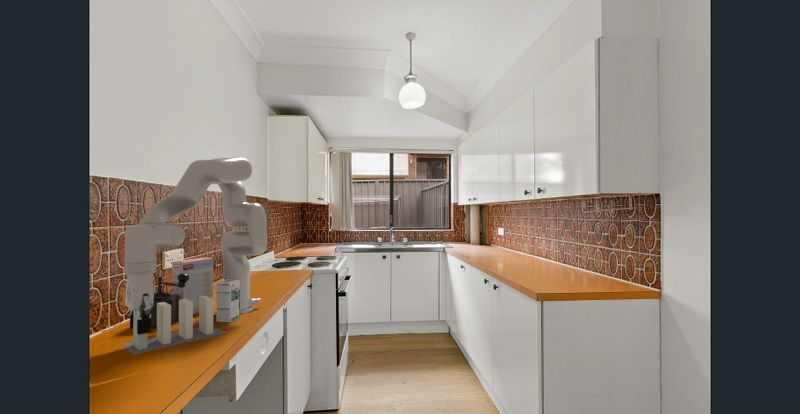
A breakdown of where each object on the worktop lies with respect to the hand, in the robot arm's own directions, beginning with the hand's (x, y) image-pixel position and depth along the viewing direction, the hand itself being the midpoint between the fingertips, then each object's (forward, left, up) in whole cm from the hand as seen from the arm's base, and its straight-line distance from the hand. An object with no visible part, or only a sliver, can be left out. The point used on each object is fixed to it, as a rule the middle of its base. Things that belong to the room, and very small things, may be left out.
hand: (140, 330), depth 110 cm
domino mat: (-9, 0, -5) cm, 11 cm away
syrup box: (-29, -9, -5) cm, 31 cm away
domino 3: (-12, 0, -5) cm, 13 cm away
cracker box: (-24, -28, -5) cm, 37 cm away
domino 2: (-6, 0, -5) cm, 8 cm away
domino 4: (-18, 0, -5) cm, 19 cm away
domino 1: (0, 0, -5) cm, 5 cm away
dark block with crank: (-13, -21, -5) cm, 25 cm away
